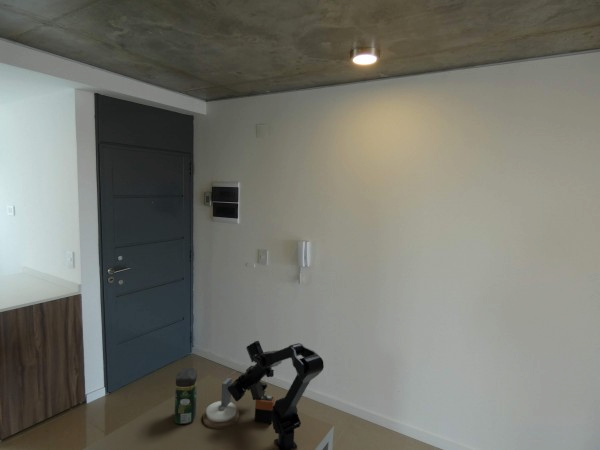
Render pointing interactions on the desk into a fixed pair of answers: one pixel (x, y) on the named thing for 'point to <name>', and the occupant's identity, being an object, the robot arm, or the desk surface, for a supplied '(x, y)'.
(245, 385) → the robot arm
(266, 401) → the battery
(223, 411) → the dial
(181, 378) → the coffee jar
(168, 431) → the desk surface
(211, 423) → the dial base
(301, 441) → the desk surface
